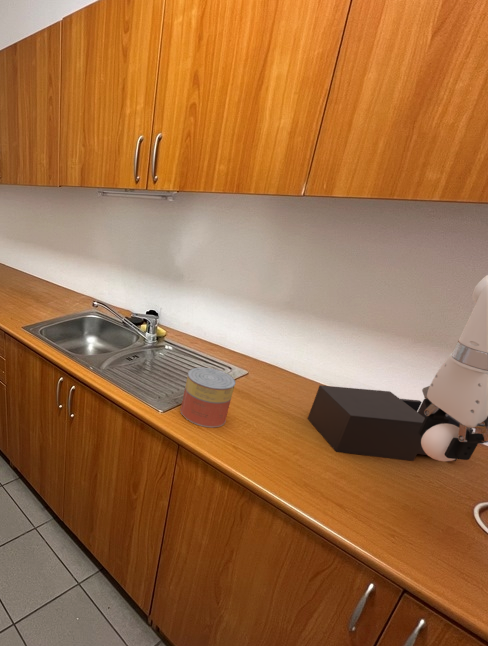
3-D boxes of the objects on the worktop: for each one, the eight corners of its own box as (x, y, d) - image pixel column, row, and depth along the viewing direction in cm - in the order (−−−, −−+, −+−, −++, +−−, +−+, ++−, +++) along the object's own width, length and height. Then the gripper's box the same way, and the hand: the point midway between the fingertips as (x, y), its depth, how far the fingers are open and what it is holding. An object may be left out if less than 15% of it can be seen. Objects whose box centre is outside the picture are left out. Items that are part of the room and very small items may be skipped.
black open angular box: (433, 430, 100) (448, 400, 97) (477, 463, 89) (496, 432, 86) (349, 421, 104) (361, 393, 101) (381, 452, 93) (395, 421, 90)
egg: (420, 462, 71) (437, 429, 69) (411, 445, 76) (426, 413, 73) (462, 472, 69) (481, 438, 66) (450, 454, 73) (467, 421, 70)
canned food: (234, 419, 107) (245, 381, 103) (207, 432, 102) (217, 393, 98) (197, 399, 116) (205, 363, 112) (171, 410, 112) (178, 373, 107)
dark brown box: (375, 425, 104) (390, 391, 100) (413, 461, 92) (432, 423, 88) (307, 418, 107) (319, 385, 103) (335, 451, 95) (350, 415, 91)
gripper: (576, 387, 56) (514, 484, 63) (470, 337, 71) (429, 420, 78) (509, 382, 57) (456, 478, 64) (419, 334, 73) (384, 416, 80)
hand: (442, 445), depth 71 cm, fingers closed on egg, 5 cm apart
